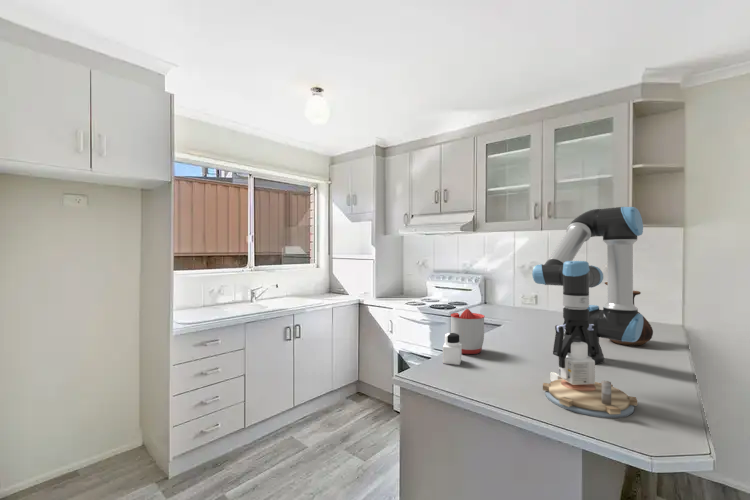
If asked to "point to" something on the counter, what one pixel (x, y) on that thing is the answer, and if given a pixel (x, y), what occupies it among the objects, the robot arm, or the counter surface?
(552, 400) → the wheel base
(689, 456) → the counter surface
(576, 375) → the container
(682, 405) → the counter surface
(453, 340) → the medicine bottle
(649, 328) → the jug
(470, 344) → the citrus juicer
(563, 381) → the index wheel
